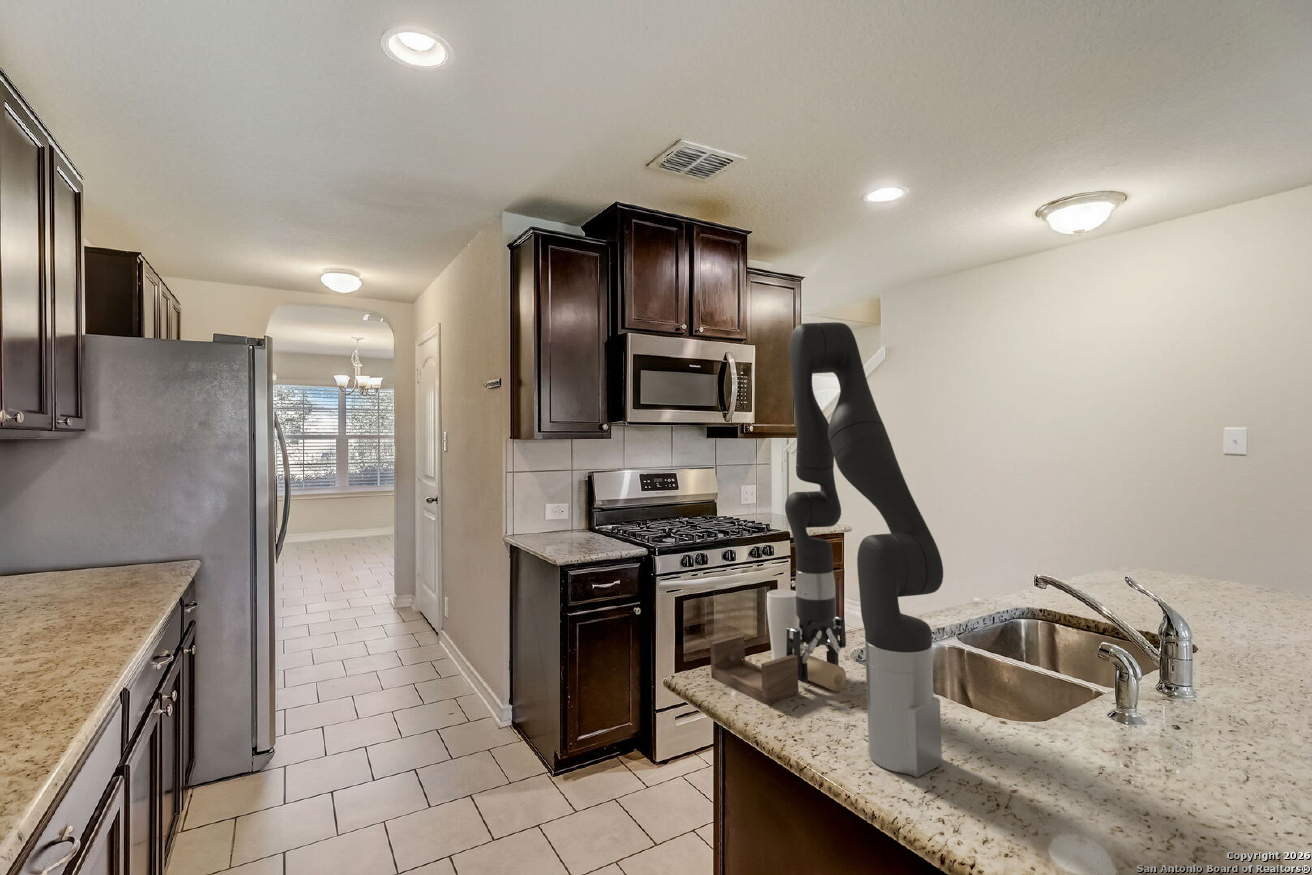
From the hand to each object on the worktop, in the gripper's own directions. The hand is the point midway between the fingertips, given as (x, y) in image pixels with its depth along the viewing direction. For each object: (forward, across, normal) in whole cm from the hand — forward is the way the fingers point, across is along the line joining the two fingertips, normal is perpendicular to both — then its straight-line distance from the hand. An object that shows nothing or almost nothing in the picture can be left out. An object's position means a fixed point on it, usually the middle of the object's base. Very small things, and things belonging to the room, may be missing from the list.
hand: (817, 675), depth 120 cm
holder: (+1, -11, +6) cm, 13 cm away
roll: (+1, 0, 0) cm, 1 cm away
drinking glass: (+1, +2, +11) cm, 11 cm away
